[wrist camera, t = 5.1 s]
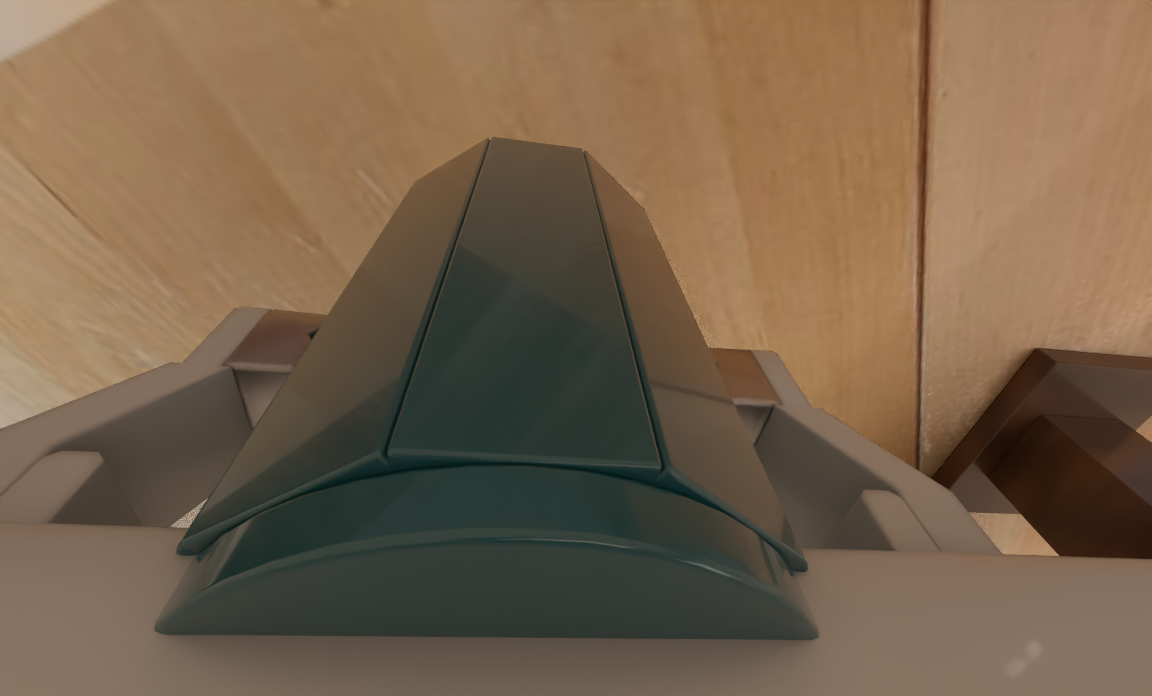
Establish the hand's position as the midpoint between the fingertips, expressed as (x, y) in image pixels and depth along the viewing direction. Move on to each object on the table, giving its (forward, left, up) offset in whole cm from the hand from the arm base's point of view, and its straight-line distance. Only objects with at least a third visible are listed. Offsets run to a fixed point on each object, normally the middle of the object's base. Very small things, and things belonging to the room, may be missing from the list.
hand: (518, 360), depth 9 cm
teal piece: (0, 0, -4) cm, 4 cm away
